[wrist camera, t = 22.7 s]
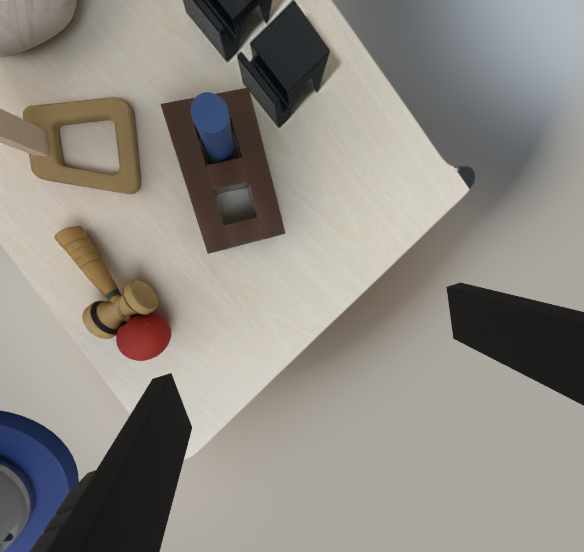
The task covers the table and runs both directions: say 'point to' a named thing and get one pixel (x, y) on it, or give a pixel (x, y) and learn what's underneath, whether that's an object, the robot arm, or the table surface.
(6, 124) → the headphone stand
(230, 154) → the peg
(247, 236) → the rack
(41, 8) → the decorative stone
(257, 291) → the table surface
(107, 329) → the kendama
